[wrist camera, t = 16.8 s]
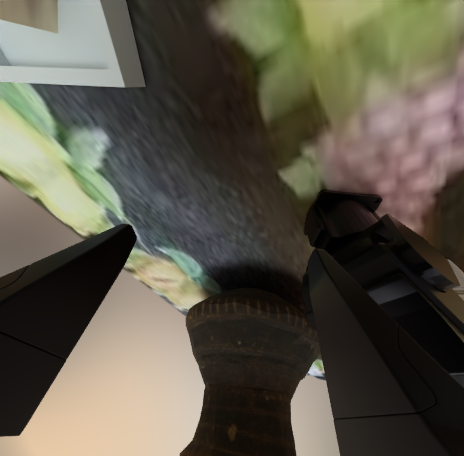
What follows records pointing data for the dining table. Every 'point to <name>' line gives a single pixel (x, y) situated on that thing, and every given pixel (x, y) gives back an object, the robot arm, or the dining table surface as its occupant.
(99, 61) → the tray
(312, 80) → the dining table surface
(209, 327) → the ceramic pot
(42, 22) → the birch block
